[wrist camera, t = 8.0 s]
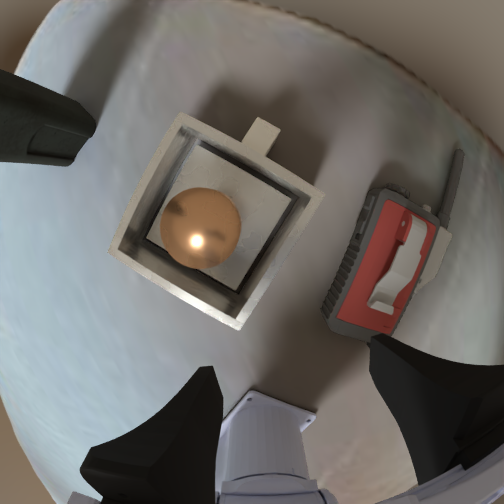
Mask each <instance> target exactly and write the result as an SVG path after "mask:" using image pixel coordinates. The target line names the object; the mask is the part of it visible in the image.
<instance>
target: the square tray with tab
mask: <svg viewBox="0 0 504 504" xmlns="http://www.w3.org/2000/svg"><path fill="white" fill-rule="evenodd" d="M280 131H281V130H280V129H279V128H277V127H275V126H273V125H272V124H270V123H268V122H266V121H265V120H263V119H261V118H259V117H257V118H256V120H255V121H254V123H253V125H252V126H251V128H250V129H249V131H248V132H247V134H246V135H245V137H244V139H243V140H242V142H239V141H237V140H235V139H233V138H231V137H230V136H228V135H226V134H224V133H222V132H220V131H218V130H216V129H214V128H213V127H211V126H209V125H207V124H205V123H203V122H201V121H199V120H197V119H195V118H193V117H191V116H189V115H186V114H184V113H182V112H179V114H178V115H177V117H176V118H175V120H174V122H173V123H172V125H171V126H170V128H169V130H168V131H167V133H166V135H165V136H164V138H163V140H162V141H161V143H160V145H159V146H158V148H157V150H156V152H155V153H154V155H153V157H152V159H151V161H150V162H149V164H148V166H147V168H146V170H145V172H144V174H143V176H142V178H141V179H140V181H139V183H138V185H137V187H136V189H135V191H134V193H133V195H132V197H131V200H130V202H129V204H128V206H127V208H126V210H125V212H124V214H123V217H122V219H121V221H120V223H119V226H118V228H117V230H116V233H115V235H114V237H113V240H112V242H111V245H110V247H109V250H108V252H107V253H109V254H110V255H112V256H113V257H115V258H116V259H118V260H119V261H121V262H122V263H124V264H125V265H127V266H128V267H130V268H132V269H133V270H135V271H136V272H138V273H139V274H141V275H143V276H144V277H146V278H147V279H149V280H151V281H152V282H154V283H155V284H157V285H159V286H160V287H162V288H164V289H165V290H167V291H169V292H170V293H172V294H174V295H175V296H177V297H179V298H180V299H182V300H184V301H186V302H187V303H189V304H191V305H193V306H194V307H196V308H198V309H200V310H201V311H203V312H205V313H207V314H209V315H210V316H212V317H214V318H216V319H218V320H220V321H221V322H223V323H225V324H227V325H229V326H231V327H233V328H235V329H236V330H238V331H239V330H240V329H241V327H242V326H243V324H244V323H245V321H246V320H247V318H248V317H249V315H250V314H251V312H252V311H253V309H254V308H255V306H256V304H257V303H258V301H259V300H260V298H261V297H262V295H263V294H264V292H265V291H266V289H267V288H268V286H269V284H270V283H271V281H272V280H273V278H274V277H275V275H276V274H277V272H278V270H279V269H280V267H281V266H282V264H283V263H284V261H285V259H286V258H287V256H288V255H289V253H290V252H291V250H292V248H293V247H294V245H295V244H296V242H297V240H298V239H299V237H300V235H301V234H302V232H303V231H304V229H305V227H306V226H307V224H308V223H309V221H310V219H311V218H312V216H313V214H314V213H315V211H316V209H317V208H318V206H319V204H320V203H321V201H322V199H323V198H324V196H325V194H324V193H323V192H321V191H320V190H318V189H317V188H315V187H314V186H312V185H311V184H309V183H307V182H306V181H304V180H303V179H301V178H300V177H298V176H296V175H295V174H293V173H292V172H290V171H288V170H287V169H285V168H284V167H282V166H280V165H279V164H277V163H275V162H274V161H272V160H270V159H269V158H267V157H266V156H267V154H268V153H269V151H270V150H271V148H272V146H273V145H274V143H275V142H276V139H277V137H278V135H279V133H280ZM197 138H198V139H199V140H201V141H203V142H205V143H207V144H209V145H211V146H213V147H214V148H216V149H218V150H220V151H222V152H224V153H225V154H227V155H229V156H231V157H233V158H234V159H236V160H238V161H240V162H242V163H243V164H245V165H247V166H248V167H250V168H252V169H254V170H255V171H257V172H259V173H260V174H262V175H264V176H266V177H267V178H269V179H271V180H272V181H274V182H276V183H277V184H279V185H280V186H282V187H284V188H285V189H287V190H289V191H290V192H292V193H293V194H295V195H297V196H298V197H299V198H298V199H297V201H296V203H295V204H294V206H293V207H292V209H291V211H290V212H289V214H288V216H287V217H286V219H285V221H284V222H283V224H282V225H281V227H280V229H279V230H278V232H277V234H276V235H275V237H274V238H273V240H272V242H271V243H270V245H269V247H268V248H267V250H266V251H265V253H264V255H263V256H262V258H261V260H260V261H259V263H258V264H257V266H256V268H255V269H254V271H253V272H252V274H251V276H250V277H249V279H248V280H247V282H246V284H245V285H244V287H243V288H242V290H241V292H240V293H239V295H238V294H236V293H235V292H233V291H231V290H229V289H227V288H226V287H224V286H222V285H220V284H219V283H217V282H215V281H213V280H212V279H210V278H208V277H206V276H205V275H203V274H201V273H199V272H198V271H196V270H194V269H193V268H190V267H187V266H184V265H182V264H180V263H179V262H177V261H176V260H175V259H174V258H173V257H172V256H171V255H169V254H167V253H166V252H164V251H163V250H161V249H159V248H158V247H156V246H154V245H153V244H151V243H149V242H148V241H146V240H145V239H143V237H144V235H145V233H146V231H147V229H148V226H149V224H150V222H151V220H152V218H153V216H154V214H155V212H156V210H157V208H158V207H159V205H160V203H161V201H162V199H163V197H164V195H165V193H166V191H167V189H168V188H169V186H170V184H171V182H172V180H173V178H174V177H175V175H176V173H177V171H178V170H179V168H180V166H181V164H182V163H183V161H184V159H185V157H186V156H187V154H188V152H189V151H190V149H191V147H192V146H193V144H194V142H195V141H196V139H197Z"/></svg>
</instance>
